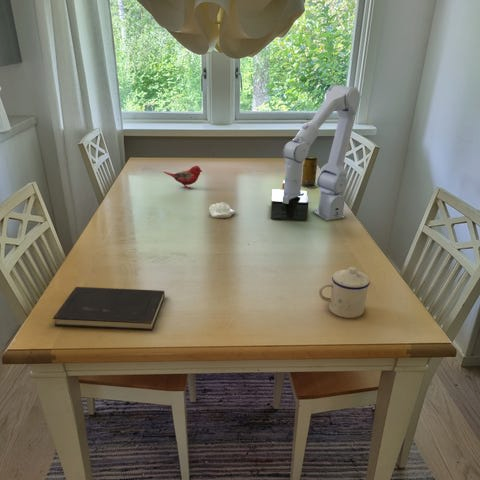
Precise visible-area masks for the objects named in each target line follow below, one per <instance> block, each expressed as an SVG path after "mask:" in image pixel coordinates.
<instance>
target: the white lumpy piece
mask: <svg viewBox="0 0 480 480" xmlns="http://www.w3.org/2000/svg"><path fill="white" fill-rule="evenodd" d="M208 212H209V214H210V215H211V217H212V218H214V219H215V218H217V219H225V218H230V217H232V216H233V215H234V214H235V212H236V211H235V210H234V209H232V208H231V206H230V205H229V204H228V203H226V202H224V201H221V202H219V203H218V202H216V203H212V204H211V205H209V208H208Z"/></svg>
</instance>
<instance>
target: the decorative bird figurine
mask: <svg viewBox="0 0 480 480" xmlns="http://www.w3.org/2000/svg"><path fill="white" fill-rule="evenodd" d="M163 173H164V174H165V175H168V176H170V177H172V178H173V179H174V180H175V181H176V182H178V183H180V184H182V185H183V189H187V190H188V189H189V190H191V189H192V185H193V184H195V183H196V182H197V181H198V179H199V176H200V175H201V173H203V170H202V169H201V167H200V166H199V165H194V166H192V167H190V169H187V170H183V171H178V172H175V173H172V172H167V171H163ZM190 185H191V186H190Z"/></svg>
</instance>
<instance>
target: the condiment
mask: <svg viewBox="0 0 480 480" xmlns="http://www.w3.org/2000/svg"><path fill="white" fill-rule="evenodd" d="M317 160H318V157H317V156H315V155H307V157H306V159H305V160H304V161H303V168H302V179H301V187H306V188H309V189H315V188H319V186H318V185H317V183H316V181H317V171H318V170H317V169H318V164H317V163H318V161H317Z"/></svg>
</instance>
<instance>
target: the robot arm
mask: <svg viewBox="0 0 480 480" xmlns="http://www.w3.org/2000/svg"><path fill="white" fill-rule="evenodd" d="M361 97H362V96H361V93H360V91H359V89H358V88H357V87H356V86H346V85H338V84H332V85H330V86H329V88H328V89H327V91H326V92H325V93H324V100H323V102H322V103H321V105H320V106H319V108H318V110H317V111H316V113H315V114H314V116H313V117H312V119H311V121H309V122H308V121H307V122H305V123H304V124H302V126H301V128H300V129H299V131H298V132H297V133H296V135H295V136H294V137H293V139H292V140H290V141H288V142H287V143H285V145H284V147H283V149H282V156H283V159H284V164H285V169H284V180H283V182H284V191H283V199H282V200H283V201H282V203H284V205H285V208H286V215H287V218H293V217H294V213H295V210H296V207H297V204H298V202H299V201H300V197H298V196H303V195H304V193H302V192H301V191H302V190H301V189H302V185H301V183H302V173H303V164H304V162H305V161H304V160H305V159H306V157H307V156H309V155H308V154H309V151H310V149H311V145H312V144H313V143H314V141H316V139H317V138H318V136H319V135H320V128H321V126H323V124H324V123H325V122H326V121H327V120H328V119H329V117H330V116H331V115H332V114H333V113H334V112H336V113H337V115H338V121H337V125H336V129H335V132H334V136H333V141H332V144H331V149H330V153H329V157H328V161H327V163H326V164H324V165H323V166H322V167H321V170H320V172H319V174H318V175H317V177H316V184H317V185H318V186H319V187H318V190H319V192H320V193H319V201H318V209H317V210H313V214H315V215H317V216H318V217H320V218H322V219H323V220H324V221H332V220H339V219H344V218H345V216H344V208H345V199H344V197H343V196H342V195H341V194H342V193H343V191H344V190H345V189H346V186H347V177H348V171H347V170H346V169H345V167H344V163H345V160H346V155H347V153H348V152H347V151H348V147H349V145H350V139H351V136H352V133H353V128H354V124H355V120H356V117H357V112H358V109H359V105H360V101H361Z"/></svg>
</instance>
